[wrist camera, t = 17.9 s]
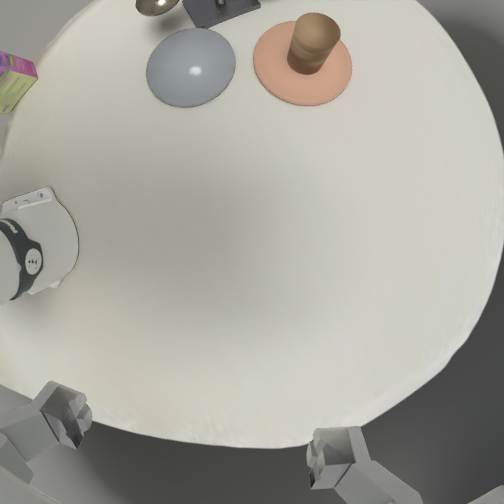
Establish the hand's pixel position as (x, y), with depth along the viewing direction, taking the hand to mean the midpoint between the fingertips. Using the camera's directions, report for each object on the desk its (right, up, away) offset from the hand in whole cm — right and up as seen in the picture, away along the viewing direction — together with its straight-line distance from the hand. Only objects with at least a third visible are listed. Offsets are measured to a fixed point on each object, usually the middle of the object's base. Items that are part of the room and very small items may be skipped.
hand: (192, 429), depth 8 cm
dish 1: (-7, +33, +26) cm, 42 cm away
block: (+9, +33, +24) cm, 42 cm away
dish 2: (+9, +33, +26) cm, 43 cm away
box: (-44, +38, +26) cm, 63 cm away
